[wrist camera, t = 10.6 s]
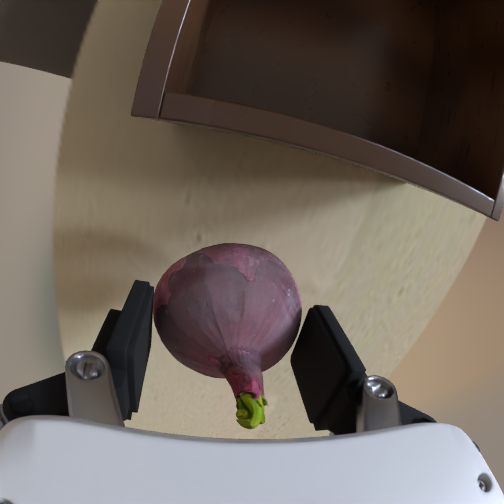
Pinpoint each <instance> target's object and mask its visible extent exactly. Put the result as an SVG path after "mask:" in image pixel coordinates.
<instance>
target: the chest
mask: <svg viewBox="0 0 504 504" xmlns="http://www.w3.org/2000/svg"><path fill="white" fill-rule="evenodd" d="M131 116H134V117H140V118H146V119H152V120H158V121H163V122H169V123H175V124H182V125H188V126H194V127H201V128H206V129H212V130H218V131H223V132H228V133H233V134H238V135H243V136H248V137H253V138H257V139H262V140H266V141H270V142H275V143H279V144H283V145H287V146H291V147H295V148H299V149H303V150H306V151H310V152H314V153H317V154H321V155H324V156H328V157H331V158H334V159H338V160H341V161H344V162H348V163H351V164H354V165H357V166H360V167H363V168H366V169H369V170H372V171H375V172H378V173H381V174H384V175H387V176H389V177H392V178H395V179H398V180H400V181H403V182H406V183H408V184H411V185H414V186H417V187H419V188H422V189H424V190H427V191H430V192H432V193H435V194H437V195H440V196H442V197H444V198H447V199H449V200H452V201H454V202H456V203H459V204H461V205H463V206H466V207H468V208H470V209H472V210H474V211H477V212H479V213H481V214H483V215H485V216H487V217H490V218H492V219H494V220H496V221H498V220H499V218H500V214H501V211H502V208H503V204H504V0H162V3H161V6H160V9H159V12H158V14H157V17H156V20H155V23H154V26H153V30H152V33H151V36H150V39H149V43H148V46H147V49H146V53H145V57H144V60H143V64H142V68H141V72H140V76H139V80H138V84H137V88H136V92H135V97H134V102H133V106H132V111H131Z"/></svg>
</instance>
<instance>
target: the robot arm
mask: <svg viewBox="0 0 504 504" xmlns="http://www.w3.org/2000/svg"><path fill="white" fill-rule="evenodd" d="M153 299H154V287H153V286H150V283H149V282H146V281H140V280H135V282H134V284H133V286H132V288H131V290H130V293H129V295H128V297H127V300H126V302H125V304H124V306H123V309H122V311H120V310H115V309H110V311H109V313H108V315H107V317H106V319H105V321H104V323H103V325H102V328H101V330H100V332H99V334H98V336H97V339H96V341H95V343H94V345H93V348H92V350H91V351H86V350H85V351H79V352H77V353H74V354H72V355H71V356H70V357H69V358H68V360H67V361H66V365H65V372H64V373H61V374H58V375H55V376H53V377H50V378H47V379H44V380H42V381H39V382H36V383H33V384H30V385H27V386H24V387H21V388H19V389H15V390H13V391H11V392H10V393H9V394H8V395H7V396H6V397H5V399H4V401H3V404H0V504H504V495H503V493H502V491H501V489H500V487H499V485H498V483H497V481H496V479H495V478H494V476H493V474H492V472H491V470H490V469H489V467H488V465H487V464H486V462H485V460H484V459H483V457H482V456H481V454H480V449H479V447H478V446H477V445H476V443H474V442H473V441H471V439H470V438H469V437H468V436H467V435H466V434H465V432H463V431H462V430H461V429H460V428H458V427H456V426H453V425H449V424H444V423H437V422H436V421H435V420H434V419H433V418H432V417H430V416H428V415H426V414H424V413H422V412H420V411H418V410H416V409H414V408H412V407H410V406H408V405H406V404H404V403H402V402H400V401H398V396H397V391H396V388H395V386H394V385H393V384H392V383H391V382H390V381H389V380H387V379H386V378H384V377H381V376H377V375H371V376H368V377H367V375H366V373H365V371H366V369H365V367H364V365H363V363H362V362H361V360H360V358H359V357H358V355H357V353H356V351H355V350H354V348H353V346H352V345H351V343H350V341H349V339H348V338H347V336H346V334H345V333H344V331H343V329H342V328H341V326H340V324H339V323H338V321H337V319H336V318H335V316H334V314H333V313H332V311H331V309H330V308H329V307H328V306H322V305H314V307H313V308H310V309H309V310H308V313H307V316H306V318H305V321H304V324H303V326H302V329H301V332H300V334H299V337H298V339H297V342H296V345H295V347H294V350H293V352H292V355H291V360H290V361H291V366H292V369H293V372H294V375H295V378H296V381H297V385H298V388H299V391H300V394H301V397H302V400H303V403H304V406H305V409H306V412H307V416H308V419H309V421H310V423H313V424H314V427H315V430H316V431H318V430H329V431H330V434H329V436H323V437H311V438H294V439H225V438H208V437H195V436H185V435H176V434H168V433H161V432H154V431H147V430H140V429H134V428H128V427H125V425H124V422H123V421H125V420H127V419H129V420H131V416H132V412H136V413H137V412H138V408H139V402H140V397H141V391H142V386H143V381H144V376H145V371H146V367H147V362H148V357H149V353H150V348H151V337H152V316H153Z"/></svg>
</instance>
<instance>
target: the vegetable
mask: <svg viewBox="0 0 504 504" xmlns="http://www.w3.org/2000/svg"><path fill="white" fill-rule="evenodd" d="M301 316H302V306H301V298H300V294H299V290H298V287H297V285H296V282H295V280H294V278H293V276H292V274H291V273H290V271H289V270H288V268H287V267H286V266H285V265H284V263H283V262H282V261H281V260H280V259H279V258H277V257H276V256H275V255H274V254H272V253H271V252H269V251H267V250H265V249H262V248H260V247H256V246H252V245H247V244H238V243H224V244H218V245H213V246H209V247H205V248H202V249H200V250H198V251H195V252H193V253H191V254H189V255H187V256H185V257H183V258H181V259H180V260H178V261H177V262H175V263H174V264H173V265H172V266H171V267H170V268H169V269H168V270H167V271H166V272H165V273H164V274H163V276H162V277H161V279H160V281H159V282H158V284H157V286H156V289H155V293H154V299H153V317H154V323H155V327H156V329H157V332H158V334H159V336H160V338H161V341H162V342H163V344H164V345H165V347H166V348H167V349H168V351H169V352H170V353H171V354H172V355H173V356H174V357H175V358H176V359H177V360H178V361H179V362H180V363H182V364H183V365H185V366H186V367H188V368H190V369H192V370H194V371H196V372H198V373H201V374H203V375H206V376H210V377H214V378H226V379H227V381H228V382H229V384H230V386H231V388H232V390H233V393H234V396H235V398H236V402H237V405H236V407H237V409H238V411H237V413H236V417H237V418H238V420H237V422H238V423H239V424H240V425H241V426H242V427H244V428H247V429H253V428H255V427H257V426H258V425H259V424H263V423H265V415H264V406H265V405H267V406H268V403H267V401H266V398H265V397H264V388H263V376H262V372H263V371H266V370H267V369H269V368H271V367H272V366H274V365H275V364H276V363H278V362H279V361H280V360H281V359H282V358H283V356H284V355H285V354H286V353H287V352H288V351H289V349H290V348H291V346H292V344H293V343H294V341H295V339H296V337H297V334H298V330H299V327H300V323H301Z"/></svg>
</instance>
